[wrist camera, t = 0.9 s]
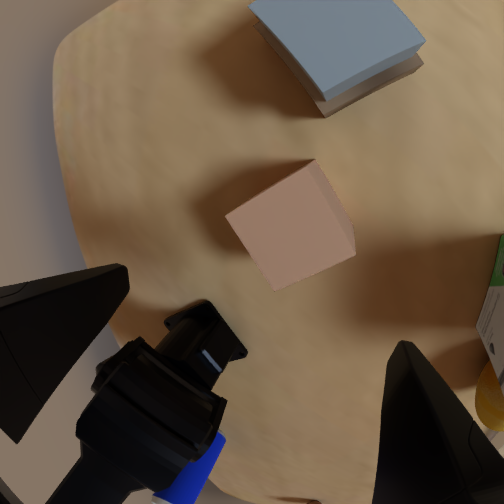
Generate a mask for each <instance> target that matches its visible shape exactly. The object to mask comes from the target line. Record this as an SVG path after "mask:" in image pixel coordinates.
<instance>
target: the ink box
mask: <svg viewBox="0 0 504 504" xmlns="http://www.w3.org/2000/svg"><path fill="white" fill-rule="evenodd" d="M476 329H477V331H478V333H479V335H480V337H481V340H482V342H483V344H484V346H485V348H486V351H487V353H488V355H489V358H490V360H491V363H492V365H493V368H494V370H495V373H496V376H497V378H498V381H499V384H500V387H501V390H502V393H503V396H504V235H502V236H501V239H500V244H499V249H498V254H497V258H496V262H495V266H494V270H493V274H492V278H491V282H490V285H489V288H488V292H487V295H486V298H485V301H484V304H483V307H482V310H481V313H480V316H479V318H478V321H477V324H476Z"/></svg>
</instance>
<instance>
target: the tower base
mask: <svg viewBox="0 0 504 504" xmlns="http://www.w3.org/2000/svg"><path fill="white" fill-rule="evenodd" d="M253 26H254V27H255V29H256V30H257V31H258V32H259V33H260V34H261V35H262V36H263V37H264V39H265V40H266V41H267V42H268V43H269V44H270V45H271V47H272V48H273V49H274V50H275V51H276V52H277V54H278V55H279V56H280V57H281V59H282V60H283V61H284V62H285V63H286V65H287V66H288V67H289V69H290V70H291V71H292V72H293V74H294V75H295V76H296V78H297V79H298V80H299V81H300V83H301V84H302V86H303V87H304V88H305V90H306V91H307V92H308V94H309V95H310V96H311V98H312V99H313V101H314V102H315V104H316V105H317V106H318V108H319V109H320V111H321V112H322V114H323V115H324V117H325V118H327V117H329V116H331V115H333V114H334V113H336V112H338V111H340V110H342V109H343V108H345V107H347V106H349V105H351V104H353V103H354V102H356V101H358V100H360V99H362V98H364V97H366V96H368V95H369V94H371V93H373V92H375V91H377V90H379V89H381V88H383V87H385V86H387V85H389V84H391V83H393V82H395V81H397V80H399V79H401V78H404V77H406V76H408V75H410V74H412V73H414V72H415V71H416V70H417V69H419V68H420V67H421V66H422V65H423V64H424V63H423V61H422V60H421V58H420V57H419V55H418V54H417V53H415V54H414V55H413V57H411V58H408V59H406V60H404V61H402V62H400V63H398V64H396V65H394V66H392V67H390V68H388V69H386V70H384V71H382V72H380V73H378V74H376V75H374V76H372V77H370V78H368V79H366V80H364V81H362V82H361V83H359V84H357V85H355V86H353V87H351V88H350V89H348V90H346V91H344V92H342V93H341V94H339V95H337V96H335V97H334V98H332V99H330V100H328V101H327V102H326V100H325V99H324V97H323V96H322V95H321V93H320V92H319V90H318V89H317V88H316V86H315V85H314V84H313V82H312V81H311V80H310V79H309V77H308V76H307V75H306V73H305V72H304V71H303V70H302V68H301V67H300V66H299V65H298V63H297V62H296V61H295V60H294V59H293V57H292V56H291V55H290V54H289V53H288V51H287V50H286V49H285V48H284V47H283V46H282V45H281V43H280V42H279V41H278V40H277V39H276V38H275V37H274V36H273V35H272V33H271V32H270V31H269V30H268V29H267V28H266V27H265V26H264V25H263V24H262V22H261V21H259V22H258V23H256V24H255V25H253Z"/></svg>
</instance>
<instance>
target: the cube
mask: <svg viewBox="0 0 504 504" xmlns="http://www.w3.org/2000/svg"><path fill="white" fill-rule="evenodd" d="M225 217H226V219H227V220H228V222H229V223H230V225H231V226H232V228H233V229H234V231H235V232H236V234H237V235H238V237H239V238H240V240H241V242H242V243H243V245H244V246H245V248H246V249H247V251H248V252H249V254H250V255H251V257H252V258H253V260H254V261H255V263H256V264H257V266H258V268H259V269H260V271H261V272H262V274H263V275H264V277H265V278H266V280H267V281H268V283H269V284H270V286H271V287H272V289H273V290H274V292H275V291H277V290H279V289H282V288H284V287H286V286H289V285H291V284H293V283H296V282H298V281H300V280H303V279H305V278H307V277H309V276H312V275H314V274H316V273H318V272H321V271H323V270H325V269H327V268H329V267H332V266H334V265H336V264H338V263H340V262H342V261H345V260H347V259H349V258H351V257H353V256H355V255H356V250H355V238H354V227H353V224H352V222H351V220H350V218H349V216H348V215H347V213H346V211H345V209H344V207H343V205H342V204H341V202H340V200H339V198H338V196H337V195H336V193H335V191H334V189H333V188H332V186H331V184H330V183H329V181H328V179H327V177H326V176H325V174H324V172H323V171H322V169H321V167H320V166H319V164H318V163H317V161H316V159H315V160H313V161H311V162H310V163H308V164H306V165H304V166H303V167H301V168H299V169H298V170H296V171H294V172H292V173H291V174H289V175H287V176H286V177H284V178H282V179H281V180H279V181H277V182H276V183H274V184H272V185H271V186H269V187H268V188H266V189H264V190H263V191H261V192H259V193H258V194H256V195H255V196H253V197H251V198H250V199H249V200H247V201H246V202H244V203H243V204H241V205H240V206H238V207H237V208H236V209H234V210H233V211H231V212H230V213H228V214H227V215H226V216H225Z"/></svg>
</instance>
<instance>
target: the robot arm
mask: <svg viewBox="0 0 504 504" xmlns="http://www.w3.org/2000/svg"><path fill="white" fill-rule="evenodd" d="M129 289H130V284H129V276H128V269H127V267H126V266H124V265H121V264H118V263H115V264H110V265H105V266H100V267H95V268H90V269H85V270H80V271H75V272H71V273H66V274H61V275H57V276H52V277H47V278H42V279H38V280H34V281H30V282H24V283H19V284H14V285H9V286H3V287H0V428H1V429H2V430H3V431H4V432H5V433H6V434H7V435H8V436H9V437H10V438H11V439H12V440H13V441H14V442H15V443H16V444H18V443H19V442H20V440H21V439H22V437H23V436H24V434H25V433H26V431H27V430H28V428H29V426H30V425H31V424H32V422H33V421H34V419H35V418H36V416H37V415H38V413H39V412H40V410H41V409H42V408H43V406H44V404H45V403H46V401H47V400H48V399H49V397H50V396H51V395H52V393H53V392H54V391H55V389H56V388H57V386H58V385H59V384H60V382H61V381H62V380H63V378H64V377H65V376H66V374H67V373H68V372H69V371H70V369H71V368H72V366H73V365H74V364H75V363H76V361H77V360H78V359H79V358H80V356H81V355H82V354H83V352H84V351H85V350H86V349H87V348H88V346H89V345H90V344H91V342H92V341H93V340H94V339H95V338H96V336H97V335H98V334H99V333H100V331H101V330H102V329H103V328H104V327H105V325H106V324H107V323H108V321H109V320H110V319H111V317H112V316H113V314H114V313H115V311H116V310H117V308H118V307H119V305H120V304H121V303H122V301H123V300H124V298H125V297H126V295H127V294H128V292H129ZM206 306H207V307H208V308H207V307H206ZM164 324H165V326H166V327H167V328H168V330H169V331H170V332H169V333H168V334H167V335H166V336H165V337H164V339H163V340H162V341H161V342H160V343H159V344H158V345H157V347H156V348H155V349H153V348H152V347H151V346H150V345H148V344H147V343H146V342H145V340H144V339H143V338H142V337H140V336H139V337H138V338H137V339H136V340H134V341H133V340H132V341H131V342H129V341H128V342H127V344H126V345H125V346H124V347H123V348H122V349H121V350H120V351H118V352H117V353H116V354H115V355H113V356H111V357H110V358H108V359H106V360H104V361H103V362H101V363H99V364H98V365H97V367H96V377H95V380H94V382H93V384H92V386H91V391H93V392H94V393H95V396H94V397H93V398H92V400H91V401H90V402H89V404H88V405H87V407H86V408H85V409H84V411H83V412H82V414H81V416H80V418H79V419H78V421H77V424H76V437H77V438H78V439H80V447H81V457H80V458H79V459H78V461H77V462H76V463H75V465H74V466H73V467H72V469H71V470H70V471H69V473H68V474H67V475H66V477H65V478H64V479H63V481H62V482H61V483H60V485H59V486H58V487H57V489H56V490H55V491H54V493H53V494H52V495H51V497H50V498H49V499H48V501H47V502H46V503H45V504H122V503H123V502H124V500H125V499H126V498H127V497H128V496H129V495H130V493H131V492H134V491H139V490H143V489H147V488H148V489H150V490H152V491H154V492H160V491H162V490H164V489H167V488H169V487H170V486H171V484H172V483H173V482H174V480H175V479H176V477H177V476H178V475H179V473H180V472H181V471H182V470H183V468H184V467H185V466H186V465H187V464H188V463H189V461H190V462H191V463H194V462H196V461H197V460H199V459H200V458H201V457H202V456H203V455H204V454H205V453H206V452H207V450H208V449H209V447H210V446H211V444H212V443H213V441H214V439H215V437H216V435H217V432H218V429H219V426H220V423H221V420H222V416H223V413H224V410H225V407H226V404H227V400H226V399H224V398H223V397H219V396H218V395H216V394H215V393H213V392H212V391H211V390H212V388H213V386H214V385H215V383H216V381H217V379H218V378H219V376H220V374H221V373H223V371H224V369H225V368H226V366H227V364H228V362H230V361H234V360H238V359H242V358H245V357H246V356H247V354H248V351H247V349H246V348H245V347H244V346H243V344H242V343H241V342H240V340H239V339H238V338H237V336H236V335H235V334H234V333H233V331H232V330H231V329H230V327H229V326H228V325H227V323H226V322H225V321H224V319H223V318H222V317H221V315H220V314H219V313H218V311H217V310H216V308H215V307H214V306H213V304H212V303H211V302H209V301H204V302H202V303H200V304H197V305H195V306H193V307H191V308H188V309H186V310H184V311H182V312H179V313H177V314H175V315H173V316H170V317H168V318H166V319H165V321H164ZM241 352H242V353H241ZM0 504H23V503H22V502H21V501H20V500H19V498H18V497H17V496H16V495H15V494H14V493H13V492H12V491H11V490H10V488H9V487H8V486H7V485H6V484H5V482H4V481H3V480H2V479H1V478H0ZM372 504H504V458H503V457H502V456H501V455H500V453H499V452H498V451H497V450H496V448H495V447H494V446H493V445H492V444H491V442H490V441H489V440H488V438H487V437H486V435H485V434H484V433H483V431H482V430H481V429H480V427H479V426H478V424H477V423H476V422H475V420H474V421H473V418H472V416H471V415H470V413H469V412H468V411H467V409H466V408H465V407H464V405H463V404H462V403H461V401H460V400H459V399H458V398H457V396H456V395H455V394H454V392H453V391H452V390H451V388H450V387H449V386H448V385H447V383H446V382H445V381H444V380H443V378H442V377H441V376H440V375H439V373H438V372H437V371H436V370H435V368H434V367H433V366H432V365H431V364H430V362H429V361H428V360H427V359H426V357H425V356H424V355H423V354H422V353H421V352H420V350H419V349H418V348H417V347H416V346H415V344H414V343H413V342H409V341H404V340H401V341H399V342H398V344H397V346H396V347H395V349H394V351H393V353H392V355H391V356H390V358H389V360H388V363H387V367H386V377H385V386H384V394H383V401H382V409H381V426H380V442H379V454H378V463H377V472H376V480H375V487H374V493H373V500H372Z"/></svg>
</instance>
